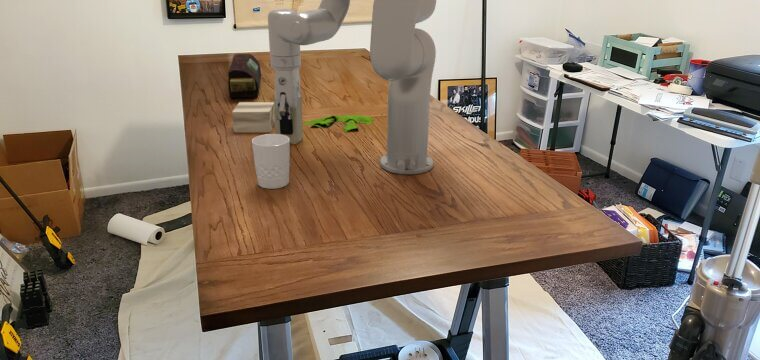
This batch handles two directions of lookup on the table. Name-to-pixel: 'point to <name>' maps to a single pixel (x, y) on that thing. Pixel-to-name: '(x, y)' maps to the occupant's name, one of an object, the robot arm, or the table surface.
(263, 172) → the white cup
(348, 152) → the table surface
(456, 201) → the table surface
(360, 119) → the cloth
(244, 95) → the packaged item
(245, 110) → the maple block
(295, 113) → the skincare box
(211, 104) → the table surface
